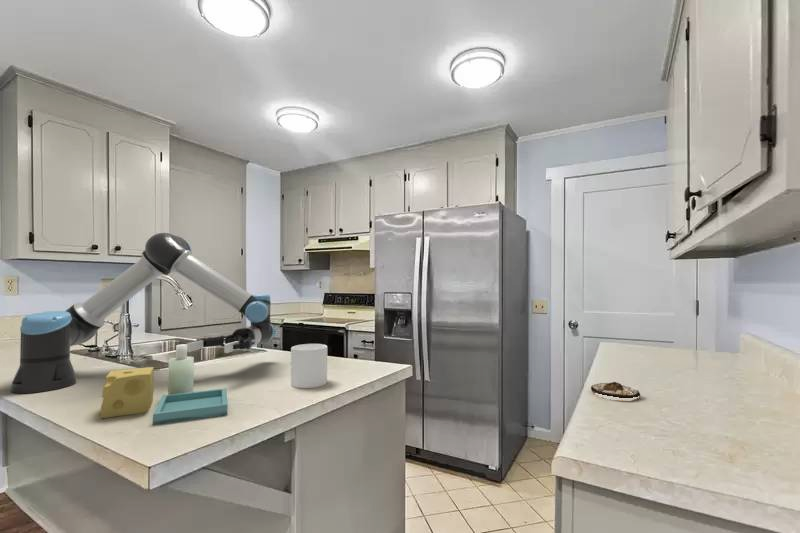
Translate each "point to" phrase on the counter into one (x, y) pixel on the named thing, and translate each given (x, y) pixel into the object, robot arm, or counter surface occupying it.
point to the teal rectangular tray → (190, 406)
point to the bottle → (181, 372)
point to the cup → (308, 365)
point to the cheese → (127, 392)
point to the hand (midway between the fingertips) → (206, 348)
